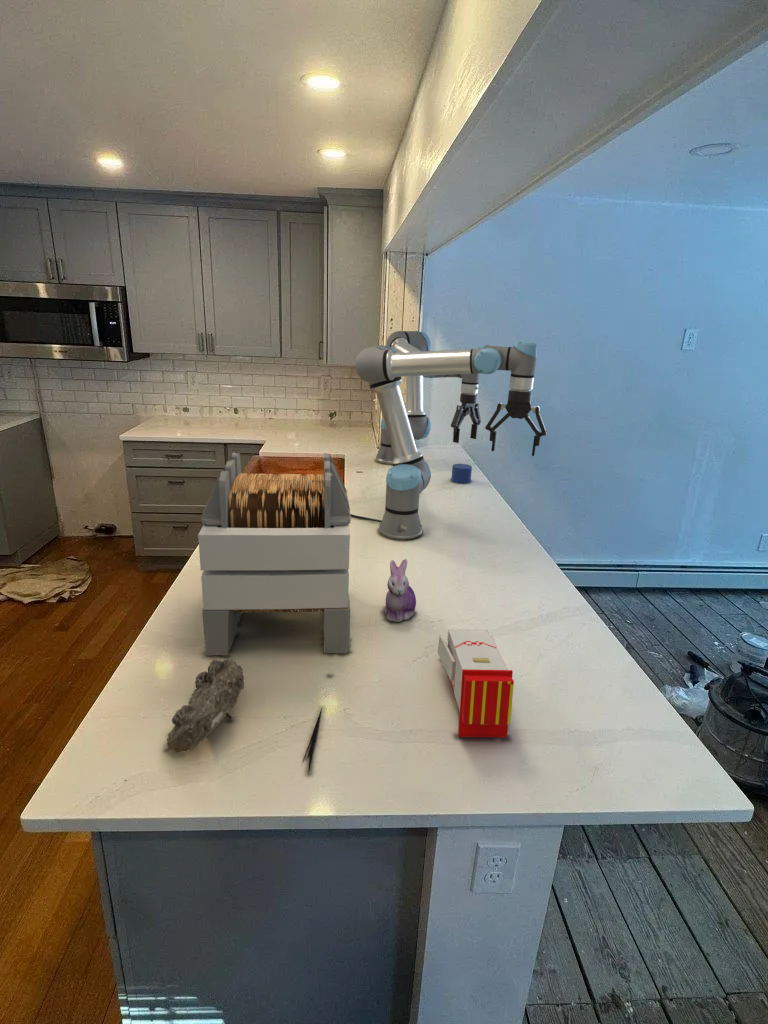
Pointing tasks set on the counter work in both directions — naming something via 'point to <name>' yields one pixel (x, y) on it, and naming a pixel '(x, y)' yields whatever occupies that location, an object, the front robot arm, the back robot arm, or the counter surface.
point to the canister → (461, 473)
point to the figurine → (399, 594)
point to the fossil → (206, 705)
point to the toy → (478, 682)
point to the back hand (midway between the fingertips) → (464, 440)
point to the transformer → (275, 551)
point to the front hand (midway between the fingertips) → (512, 452)
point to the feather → (313, 740)
